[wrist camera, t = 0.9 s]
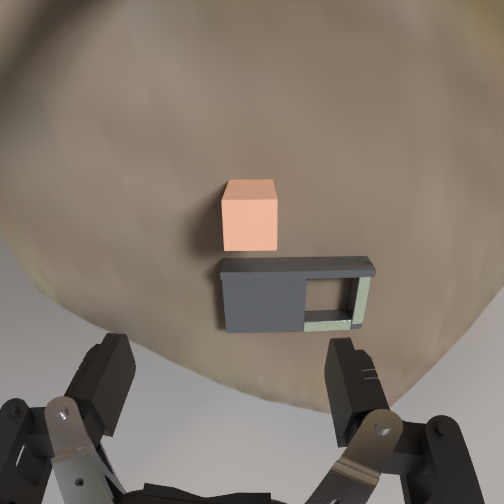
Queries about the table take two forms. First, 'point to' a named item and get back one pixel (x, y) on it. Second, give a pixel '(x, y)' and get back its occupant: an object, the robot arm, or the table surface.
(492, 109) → the table surface
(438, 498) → the robot arm
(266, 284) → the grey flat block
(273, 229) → the salmon pink block
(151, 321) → the table surface
